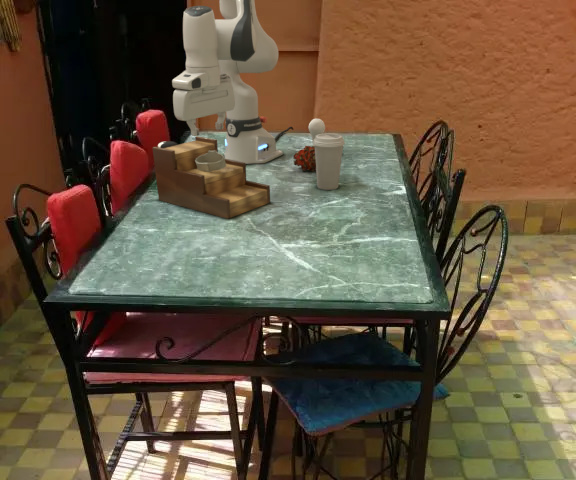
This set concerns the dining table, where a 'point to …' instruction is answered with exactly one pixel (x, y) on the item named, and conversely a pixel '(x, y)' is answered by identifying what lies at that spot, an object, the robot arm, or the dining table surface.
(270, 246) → the dining table surface
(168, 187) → the step shelf
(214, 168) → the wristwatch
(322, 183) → the coffee cup
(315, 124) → the lightbulb
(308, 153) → the dragon fruit
